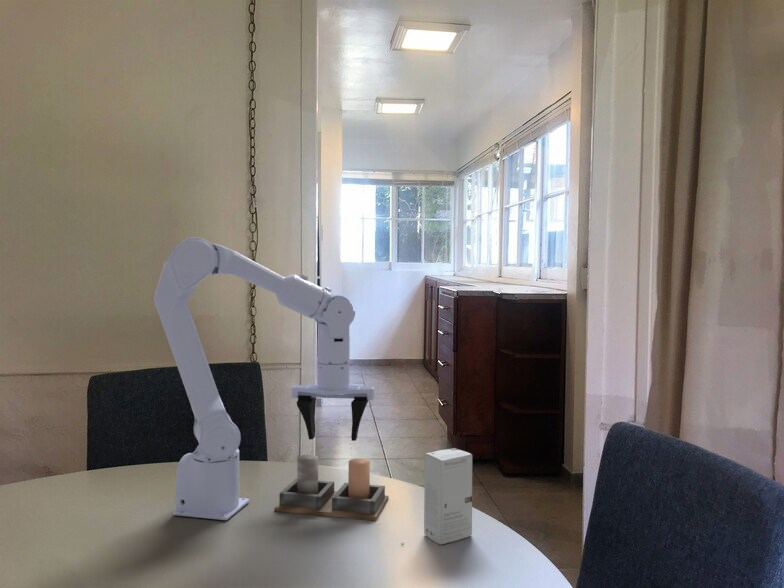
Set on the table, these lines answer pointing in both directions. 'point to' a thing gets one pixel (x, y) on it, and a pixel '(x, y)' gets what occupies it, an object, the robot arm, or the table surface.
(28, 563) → the table surface
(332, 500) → the tube rack
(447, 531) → the skincare box
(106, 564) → the table surface
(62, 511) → the table surface
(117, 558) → the table surface
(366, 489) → the terracotta tube
